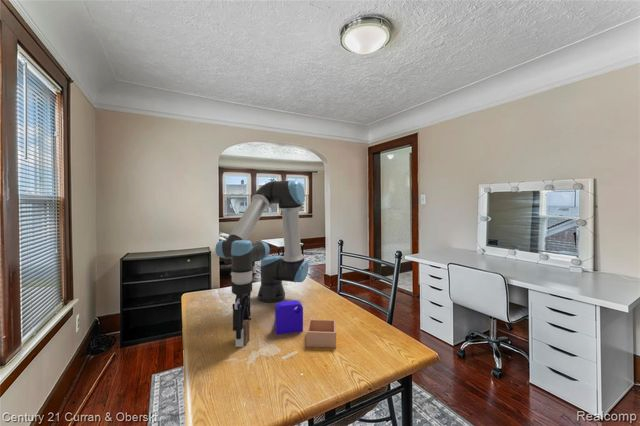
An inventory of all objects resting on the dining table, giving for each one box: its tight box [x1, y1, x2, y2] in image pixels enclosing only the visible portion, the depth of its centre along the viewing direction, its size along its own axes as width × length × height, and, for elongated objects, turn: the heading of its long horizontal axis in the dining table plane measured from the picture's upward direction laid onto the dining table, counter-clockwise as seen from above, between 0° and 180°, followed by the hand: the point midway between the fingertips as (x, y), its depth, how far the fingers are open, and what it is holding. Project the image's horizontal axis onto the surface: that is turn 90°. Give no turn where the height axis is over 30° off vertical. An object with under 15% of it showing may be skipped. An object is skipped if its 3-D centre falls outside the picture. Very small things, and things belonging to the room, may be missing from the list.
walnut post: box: [234, 320, 250, 347], centre depth 102 cm, size 4×4×8 cm
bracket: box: [274, 299, 304, 336], centre depth 118 cm, size 18×11×12 cm, turn 18°
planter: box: [305, 318, 337, 349], centre depth 105 cm, size 11×11×6 cm
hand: (242, 341), depth 102 cm, fingers open, 6 cm apart
